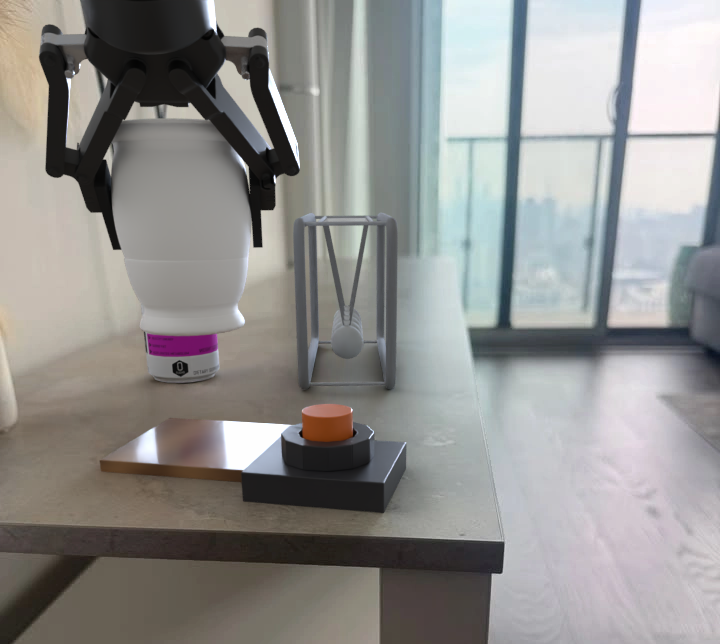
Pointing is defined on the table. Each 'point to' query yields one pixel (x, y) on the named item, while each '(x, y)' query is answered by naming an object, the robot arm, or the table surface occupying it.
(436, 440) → the table surface
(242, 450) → the plate
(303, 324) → the newton's cradle
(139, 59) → the robot arm
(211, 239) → the jar
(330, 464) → the switch block
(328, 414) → the button
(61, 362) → the table surface
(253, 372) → the table surface
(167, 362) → the supplement can
